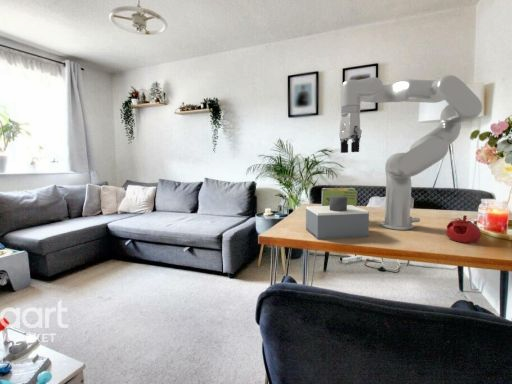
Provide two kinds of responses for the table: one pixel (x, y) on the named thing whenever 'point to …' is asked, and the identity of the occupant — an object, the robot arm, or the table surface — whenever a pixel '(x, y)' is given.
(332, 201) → the tape roll
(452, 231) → the pomegranate
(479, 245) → the table surface
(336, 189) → the protein box
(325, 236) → the storage box
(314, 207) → the box lid
